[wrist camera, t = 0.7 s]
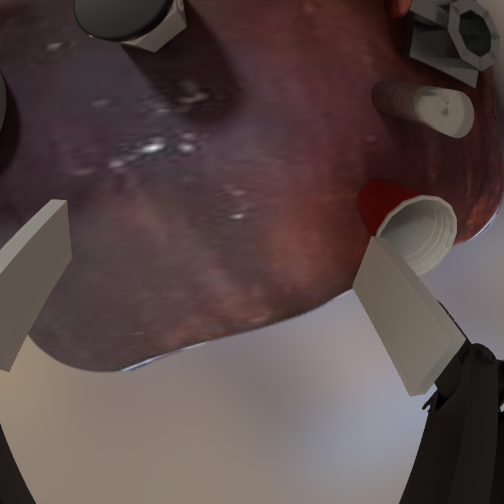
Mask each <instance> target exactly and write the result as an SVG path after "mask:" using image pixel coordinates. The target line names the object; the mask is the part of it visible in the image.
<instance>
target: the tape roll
mask: <svg viewBox="0 0 504 504" xmlns="http://www.w3.org/2000/svg"><path fill="white" fill-rule="evenodd" d="M5 111H6V88H5V83H4V79H3V76H2V73H1V71H0V131H1V128H2V125H3V122H4V117H5Z"/></svg>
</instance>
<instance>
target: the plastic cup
mask: <svg viewBox="0 0 504 504" xmlns="http://www.w3.org/2000/svg"><path fill="white" fill-rule="evenodd" d="M357 203H358V208H359V212H360V214H361V216H362V218H363V220H364V223H365V225H366V228H367V230H368V232H369V234H370V237H371V236H374V237H380V238H385V239H386V240H387V241H388V242H389V243H390V244H391V245H392V246H393V248H394V249H395V250H396V251H397V252H398V253H399V255H400V256H401V257H402V258H403V259H404V260H405V262H406V263H407V264H408V265H409V266H410V267H411V269H412V270H413V271H414V272H415V273H416V275H417V276H418V277H420V276H422V275H425V274H427V273H428V272H429V271H431V270H432V269H433V268H435V267H436V266H437V265H438V264H440V263H441V262H442V260H443V259H444V258H445V256H446V255H447V253H448V252H449V251H450V250H451V247H452V245H453V242H454V239H455V237H456V233H457V218H456V216H455V213H454V211H453V209H452V207H451V205H449V204H448V203H447V202H445V201H444V200H442V199H441V198H440V197H437V196H428V195H425V194H423V193H419V192H416V191H414V190H412V189H409V188H407V187H404V186H402V185H400V184H397V183H392V182H390V181H387V180H382V179H374V180H372V181H369V182H368V183H366V184H365V185H364V186H363V187H362V189H361V190H360V192H359V194H358V200H357Z"/></svg>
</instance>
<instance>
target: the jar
mask: <svg viewBox="0 0 504 504" xmlns="http://www.w3.org/2000/svg"><path fill="white" fill-rule="evenodd" d="M74 15H75V19H76V21H77V23H78V25H79V26H80V27H81V29H82V30H83V31H84V32H86V33H87V34H89V35H90V37H93V38H97V39H101V40H105V41H109V42H112V43H116V44H119V45H124V46H129V47H133V48H138V49H142V50H146V51H150V52H156V51H157V50H159V49H160V48H161V47H162V46H163V45H165V44H166V43H167V42H168V41H169V40H171V39H172V38H173V37H174V36H176V35H177V34H178V33H179V32H181V31H182V30H183V29H185V28H186V27H187V24H186V17H185V11H184V4H183V0H74Z"/></svg>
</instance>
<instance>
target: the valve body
mask: <svg viewBox="0 0 504 504" xmlns="http://www.w3.org/2000/svg"><path fill="white" fill-rule="evenodd" d="M385 11H386V13H387V15H389V16H391V17H393V18H395V19H400V18H402V17H404V16H405V15H406V16H407V22H406V30H405V36H404V43H403V49H402V55H401V56H402V57H404V58H407V59H409V60H412V61H414V62H416V63H419V64H421V65H423V66H426V67H428V68H430V69H432V70H434V71H436V72H439V73H441V74H443V75H445V76H447V77H449V78H451V79H453V80H455V81H457V82H459V83H461V84H462V85H464V86H466V87H471V88H476V82H477V76H478V71H483V70H484V69H486V68H488V67H489V66H491V65H492V64H494V63H495V62H497V59H498V51H499V40H500V36H499V34H498V32H497V29H496V27H495V25H494V23H493V20H492V18H491V16H490V14H489V12H488V10H486V9H485V8H483V7H482V6H481V5H479V4H478V3H476V2H475V1H473V0H385Z"/></svg>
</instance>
